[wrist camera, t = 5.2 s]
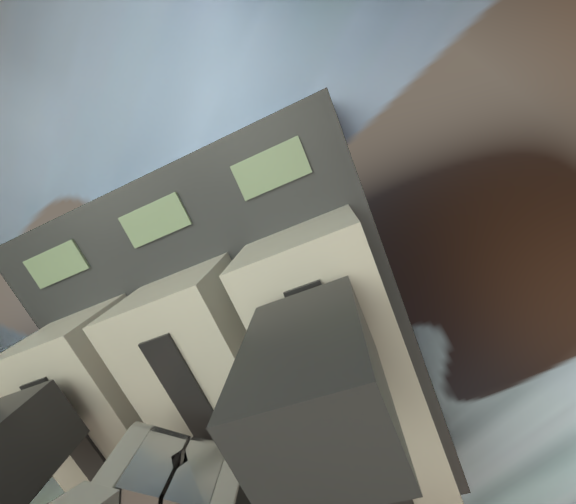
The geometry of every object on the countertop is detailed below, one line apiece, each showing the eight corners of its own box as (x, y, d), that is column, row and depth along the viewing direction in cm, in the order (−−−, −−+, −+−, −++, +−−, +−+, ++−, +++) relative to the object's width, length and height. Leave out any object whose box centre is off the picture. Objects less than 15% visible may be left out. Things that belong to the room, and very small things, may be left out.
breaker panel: (203, 504, 18) (160, 636, 13) (31, 239, 14) (-125, 283, 9) (451, 450, 15) (515, 590, 10) (325, 99, 11) (331, 53, 6)
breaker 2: (287, 371, 8) (265, 527, 5) (256, 307, 8) (206, 428, 4) (375, 345, 8) (423, 497, 4) (347, 275, 7) (375, 381, 4)
